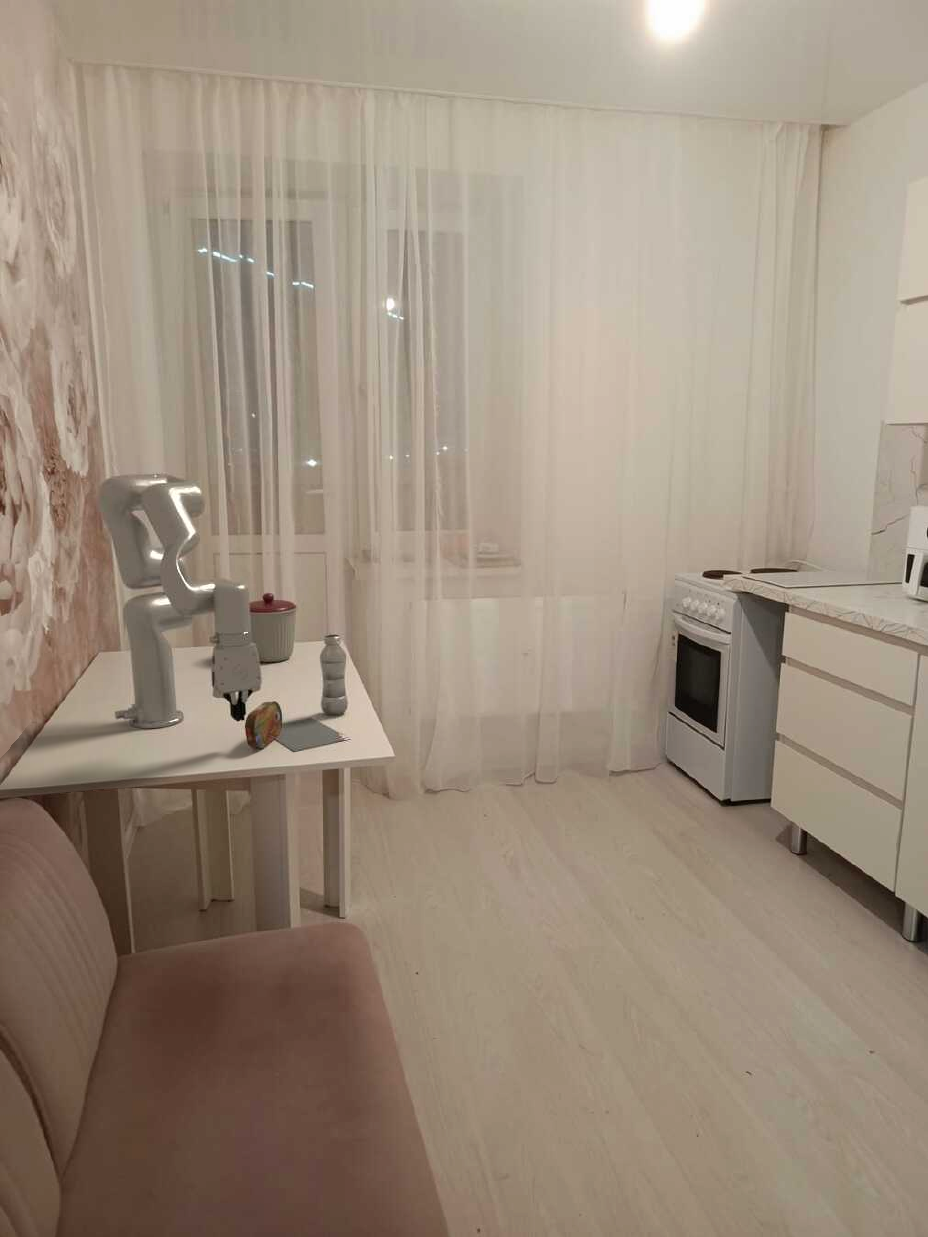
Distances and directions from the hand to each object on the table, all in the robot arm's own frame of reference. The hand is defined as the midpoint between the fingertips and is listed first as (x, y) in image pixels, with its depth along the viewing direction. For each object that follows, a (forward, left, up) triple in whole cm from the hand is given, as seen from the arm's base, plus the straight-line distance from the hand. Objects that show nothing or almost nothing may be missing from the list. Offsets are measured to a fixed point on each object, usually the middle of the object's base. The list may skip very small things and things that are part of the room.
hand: (238, 719), depth 199 cm
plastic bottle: (+29, +10, -7) cm, 31 cm away
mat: (+15, 0, -7) cm, 17 cm away
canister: (+40, +74, -7) cm, 84 cm away
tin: (+6, 0, -7) cm, 9 cm away
